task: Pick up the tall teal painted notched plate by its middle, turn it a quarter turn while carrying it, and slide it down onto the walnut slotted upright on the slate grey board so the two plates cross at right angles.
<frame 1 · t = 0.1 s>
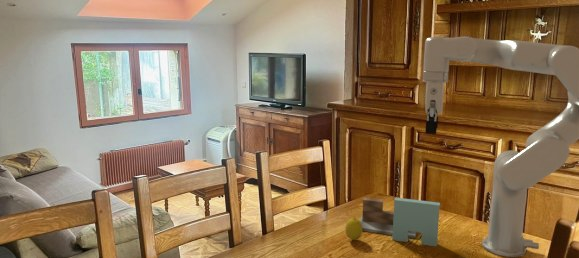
hand: (431, 130, 139), 37 cm above the table, tool pointing down, fingers open, 9 cm apart
notched plate: (414, 241, 142), on the table
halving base: (387, 225, 155), on the table
lemon: (353, 241, 143), on the table
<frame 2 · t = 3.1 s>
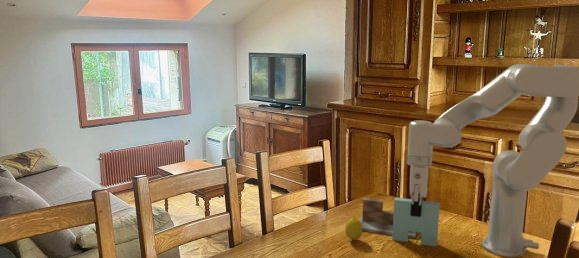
hand: (416, 213, 140), 10 cm above the table, tool pointing down, fingers closed on notched plate, 2 cm apart
notched plate: (414, 241, 142), on the table, touching gripper
everything else where it was.
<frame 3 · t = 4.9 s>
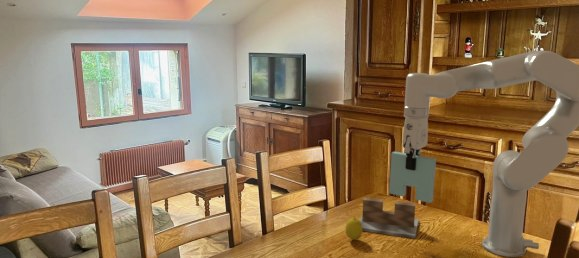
hand: (412, 168, 140), 24 cm above the table, tool pointing down, fingers closed on notched plate
notched plate: (410, 196, 142), point 15 cm above the table, touching gripper
everything else where it was.
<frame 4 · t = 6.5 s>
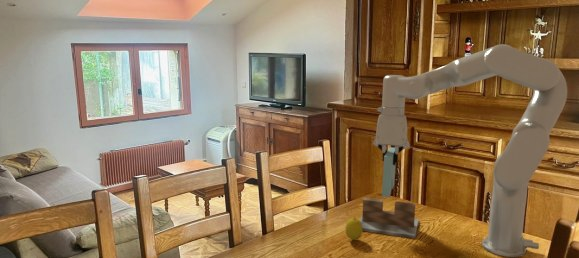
hand: (389, 163, 150), 23 cm above the table, tool pointing down, fingers closed on notched plate
notched plate: (388, 190, 152), point 13 cm above the table, touching gripper
everything else where it was.
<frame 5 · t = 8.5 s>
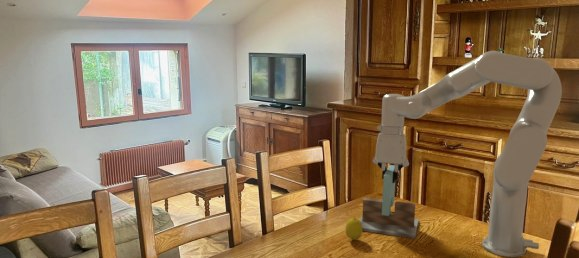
hand: (389, 181, 152), 17 cm above the table, tool pointing down, fingers closed on notched plate
notched plate: (388, 208, 154), point 7 cm above the table, touching gripper
everything else where it was.
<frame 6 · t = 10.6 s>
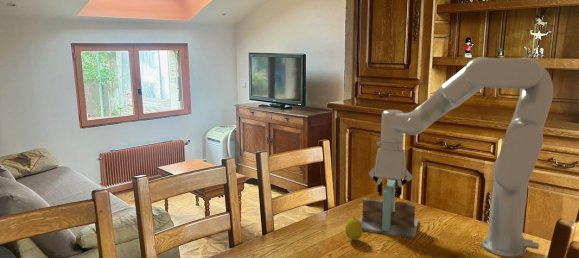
hand: (389, 195, 152), 11 cm above the table, tool pointing down, fingers open, 5 cm apart
notched plate: (388, 223, 154), point 1 cm above the table, touching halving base
everything else where it was.
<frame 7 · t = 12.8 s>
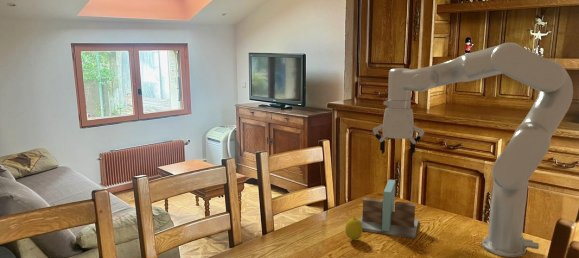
hand: (397, 153, 150), 26 cm above the table, tool pointing down, fingers open, 9 cm apart
nothing on the table moved.
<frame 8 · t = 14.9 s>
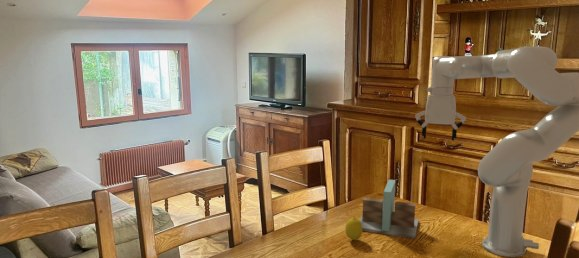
hand: (438, 138, 156), 30 cm above the table, tool pointing down, fingers open, 9 cm apart
nothing on the table moved.
at the end: notched plate 0.0 cm off-centre on the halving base, point 1.0 cm above the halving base's base; notched plate tilted 0°; the gripper is holding nothing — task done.
